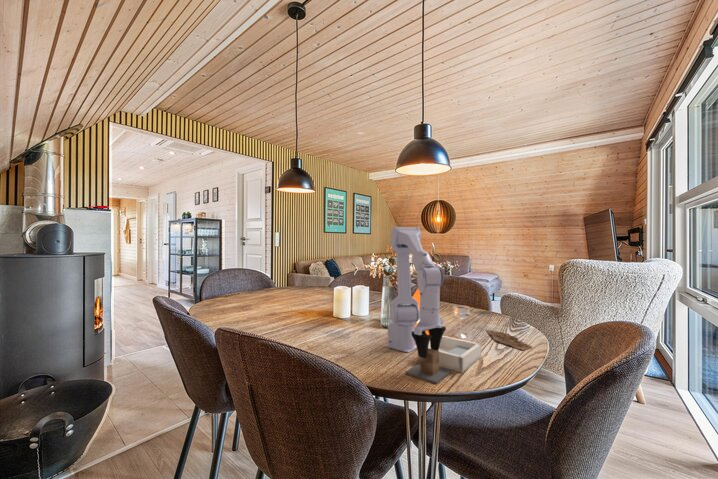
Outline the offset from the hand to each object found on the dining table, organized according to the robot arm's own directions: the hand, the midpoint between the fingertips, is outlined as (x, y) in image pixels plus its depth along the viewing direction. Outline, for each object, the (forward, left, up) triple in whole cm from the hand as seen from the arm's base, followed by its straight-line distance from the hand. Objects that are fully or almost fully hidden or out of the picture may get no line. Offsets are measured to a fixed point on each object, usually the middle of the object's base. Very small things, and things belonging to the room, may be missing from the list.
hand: (428, 353), depth 94 cm
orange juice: (-19, +32, -6) cm, 38 cm away
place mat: (0, 0, -6) cm, 6 cm away
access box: (0, +15, -6) cm, 16 cm away
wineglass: (-7, +42, -6) cm, 43 cm away
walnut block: (0, 0, -5) cm, 5 cm away
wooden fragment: (+8, +49, -6) cm, 50 cm away
